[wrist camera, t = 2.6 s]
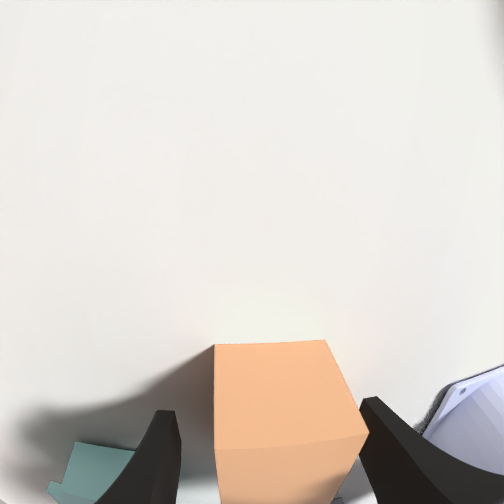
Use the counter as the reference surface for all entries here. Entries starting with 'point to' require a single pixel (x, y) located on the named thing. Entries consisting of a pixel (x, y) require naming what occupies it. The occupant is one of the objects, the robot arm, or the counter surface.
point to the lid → (89, 473)
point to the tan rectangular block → (282, 423)
